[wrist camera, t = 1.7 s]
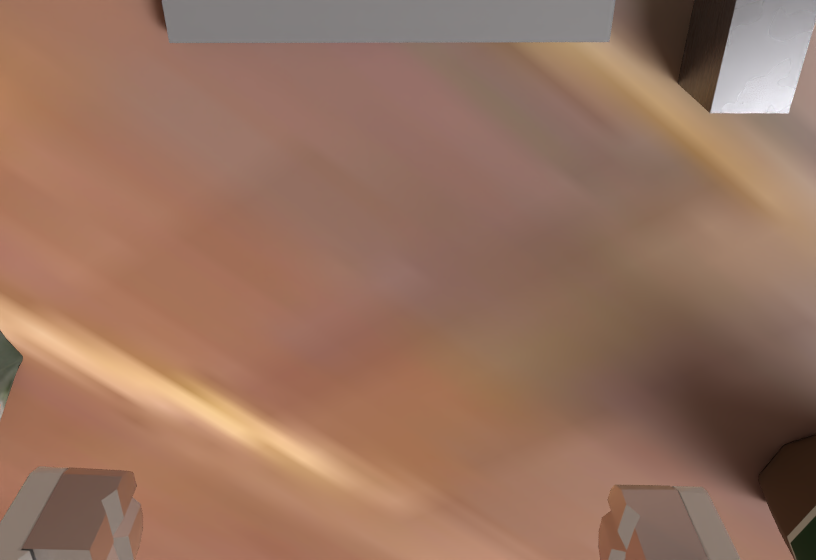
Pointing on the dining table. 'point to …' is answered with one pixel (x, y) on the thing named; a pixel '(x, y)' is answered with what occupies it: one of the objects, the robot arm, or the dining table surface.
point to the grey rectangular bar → (746, 53)
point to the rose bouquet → (7, 369)
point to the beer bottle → (794, 495)
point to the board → (387, 21)
